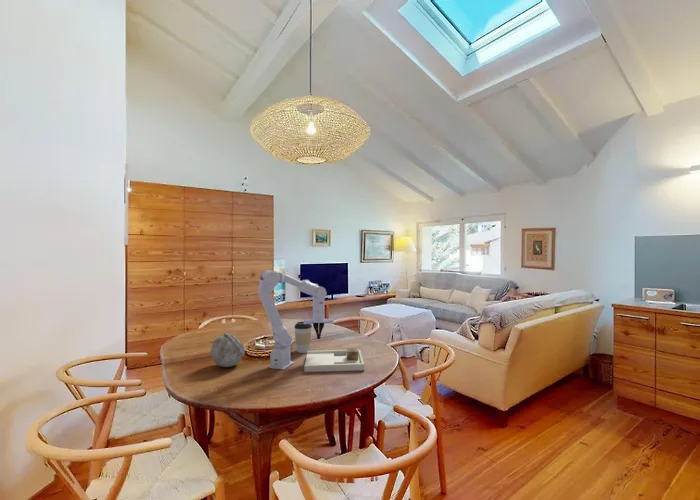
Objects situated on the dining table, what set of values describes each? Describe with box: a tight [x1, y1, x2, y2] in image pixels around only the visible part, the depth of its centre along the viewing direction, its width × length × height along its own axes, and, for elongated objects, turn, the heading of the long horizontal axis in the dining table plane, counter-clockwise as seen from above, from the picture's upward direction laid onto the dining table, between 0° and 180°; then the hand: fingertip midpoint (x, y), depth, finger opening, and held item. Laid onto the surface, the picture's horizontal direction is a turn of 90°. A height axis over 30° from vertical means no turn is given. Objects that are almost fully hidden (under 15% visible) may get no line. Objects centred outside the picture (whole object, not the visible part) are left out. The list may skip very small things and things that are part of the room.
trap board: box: [303, 349, 365, 374], centre depth 149 cm, size 26×20×3 cm
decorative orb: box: [210, 332, 246, 368], centre depth 146 cm, size 15×14×15 cm
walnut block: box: [346, 347, 359, 361], centre depth 149 cm, size 5×5×4 cm
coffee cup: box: [293, 321, 313, 354], centre depth 167 cm, size 9×9×15 cm
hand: (318, 338), depth 157 cm, fingers closed
